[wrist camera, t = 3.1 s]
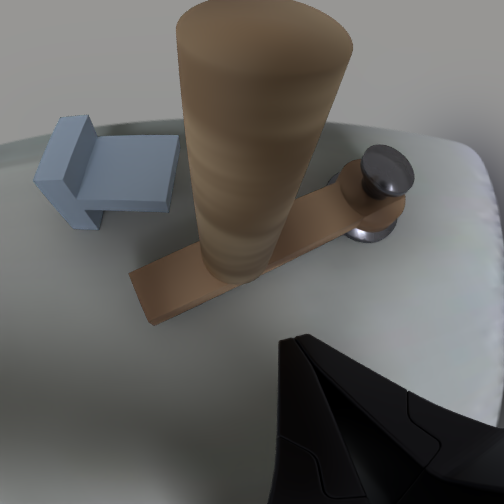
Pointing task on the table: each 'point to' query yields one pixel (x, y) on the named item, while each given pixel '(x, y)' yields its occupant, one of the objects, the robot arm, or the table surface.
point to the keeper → (105, 172)
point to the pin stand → (381, 183)
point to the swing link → (256, 149)
